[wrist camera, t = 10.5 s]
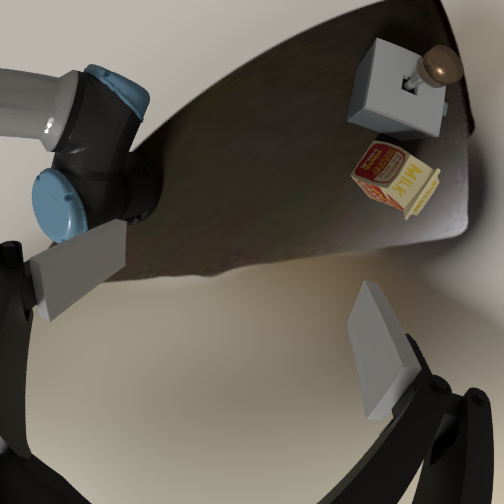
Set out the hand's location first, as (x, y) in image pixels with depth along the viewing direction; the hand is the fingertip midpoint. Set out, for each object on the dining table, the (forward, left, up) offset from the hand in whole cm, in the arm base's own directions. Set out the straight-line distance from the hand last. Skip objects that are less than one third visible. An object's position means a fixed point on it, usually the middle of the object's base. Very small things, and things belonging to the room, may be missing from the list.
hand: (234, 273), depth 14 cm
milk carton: (+17, +8, -37) cm, 41 cm away
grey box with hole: (+14, +21, -37) cm, 44 cm away
